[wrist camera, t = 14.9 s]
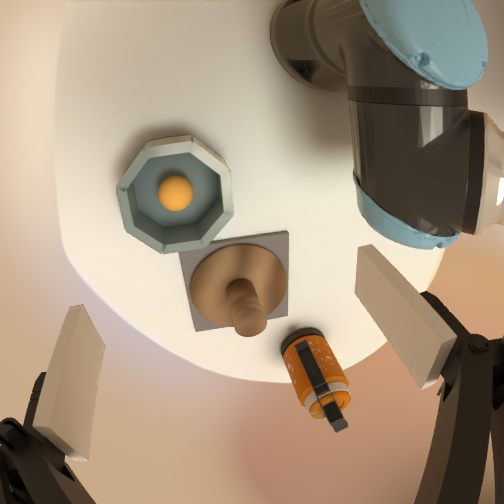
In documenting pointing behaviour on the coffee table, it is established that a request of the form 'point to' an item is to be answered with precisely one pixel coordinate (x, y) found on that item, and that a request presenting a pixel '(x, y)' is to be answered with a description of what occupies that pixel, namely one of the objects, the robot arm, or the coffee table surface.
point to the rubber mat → (270, 241)
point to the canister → (317, 377)
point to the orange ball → (175, 193)
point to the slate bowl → (184, 221)
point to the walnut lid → (239, 287)
